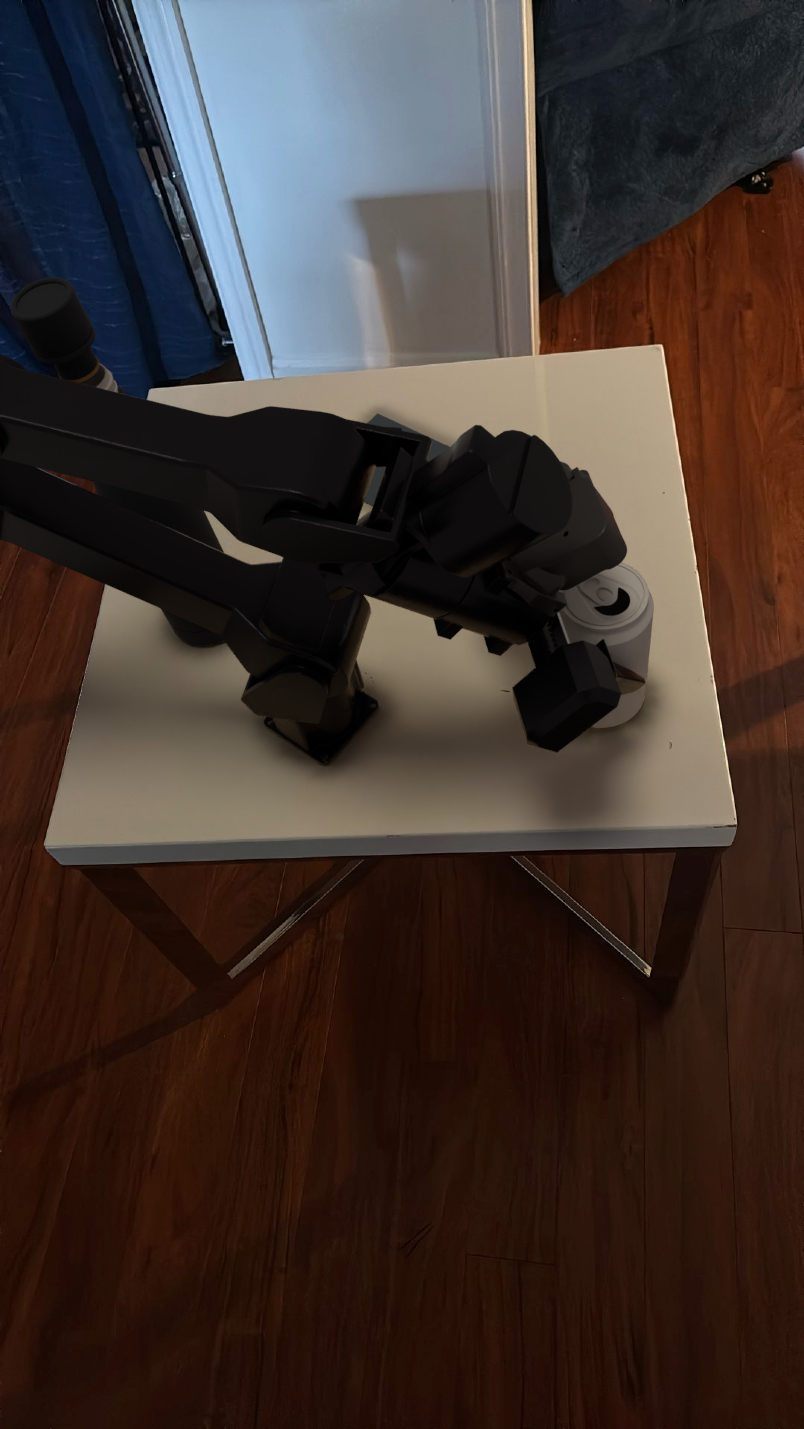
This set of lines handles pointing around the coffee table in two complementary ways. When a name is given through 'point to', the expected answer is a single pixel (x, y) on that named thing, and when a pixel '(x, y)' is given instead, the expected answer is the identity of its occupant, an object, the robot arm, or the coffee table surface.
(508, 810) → the coffee table surface
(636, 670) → the beverage can
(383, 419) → the felt pad
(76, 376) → the wine bottle
